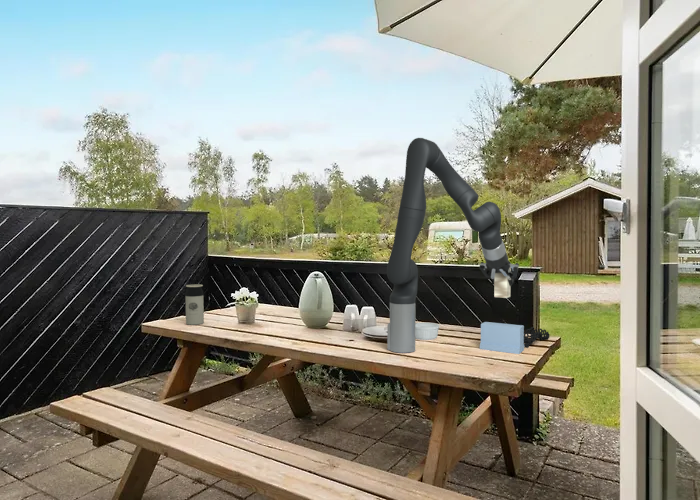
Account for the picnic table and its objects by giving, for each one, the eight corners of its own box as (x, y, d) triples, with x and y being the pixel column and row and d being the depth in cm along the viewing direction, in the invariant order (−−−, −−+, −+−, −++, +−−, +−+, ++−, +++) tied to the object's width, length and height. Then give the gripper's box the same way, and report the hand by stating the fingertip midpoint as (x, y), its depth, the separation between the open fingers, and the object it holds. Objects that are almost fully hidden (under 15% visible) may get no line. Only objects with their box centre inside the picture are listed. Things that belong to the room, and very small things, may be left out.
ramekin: (405, 337, 202) (405, 324, 201) (421, 333, 210) (421, 321, 210) (428, 342, 194) (428, 328, 194) (444, 337, 202) (444, 324, 202)
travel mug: (190, 321, 238) (190, 284, 237) (206, 322, 236) (206, 284, 236) (182, 325, 230) (182, 285, 229) (199, 325, 229) (198, 286, 228)
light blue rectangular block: (479, 348, 182) (479, 324, 182) (485, 345, 188) (485, 321, 188) (519, 354, 175) (519, 328, 174) (524, 349, 180) (524, 325, 180)
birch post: (494, 297, 180) (494, 266, 179) (497, 295, 184) (498, 265, 183) (506, 297, 177) (507, 266, 177) (510, 296, 181) (510, 266, 181)
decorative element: (539, 338, 201) (539, 323, 201) (551, 340, 197) (551, 325, 197) (512, 348, 185) (512, 332, 185) (525, 350, 182) (525, 334, 181)
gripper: (517, 243, 170) (526, 276, 180) (476, 243, 177) (486, 274, 188) (513, 260, 165) (522, 293, 176) (471, 259, 173) (482, 290, 184)
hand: (503, 283), depth 182 cm, fingers closed on birch post, 4 cm apart
